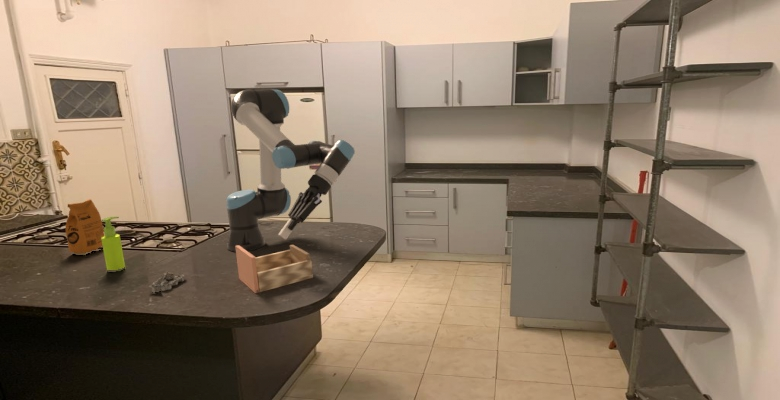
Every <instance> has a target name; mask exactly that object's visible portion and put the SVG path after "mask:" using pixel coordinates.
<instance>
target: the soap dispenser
mask: <svg viewBox="0 0 780 400" xmlns="http://www.w3.org/2000/svg"><path fill="white" fill-rule="evenodd" d="M115 219H119V216H109V217H105V218H103V219H102V218H101V221H102V222H105V227H104V226H103V231H104V236H103V237H102V238H101V240H102V245H103V249H102V251H103V256H104V261H105V267H106V271H107V270H118V269H122V268H124V267H125V268H126V263H125V258H124V252H123V247H122V240H121V235H120V234H118V233H116V230H115V226H114V225H112V222H111V221H112V220H115Z"/></svg>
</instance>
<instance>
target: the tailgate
mask: <svg viewBox="0 0 780 400" xmlns="http://www.w3.org/2000/svg"><path fill="white" fill-rule="evenodd" d="M235 248H236V252H235V255H236V256H235V257H236V262H237V263H236V264H237V271H238V272H237V273H238V279H239V280H240V281H241V282H242V283H244V285H245V286H246V287H248V288H249V289H250V290H251V291H252V292H253V293H254V294H258V293H260V292H259V287H258V278H257V269H256V260H255V257H256V256H255V255H254V254H252V253H251V252H250V251H246V250H245V249H244V248H242V247H241V246H239V245H237V246H235Z"/></svg>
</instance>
